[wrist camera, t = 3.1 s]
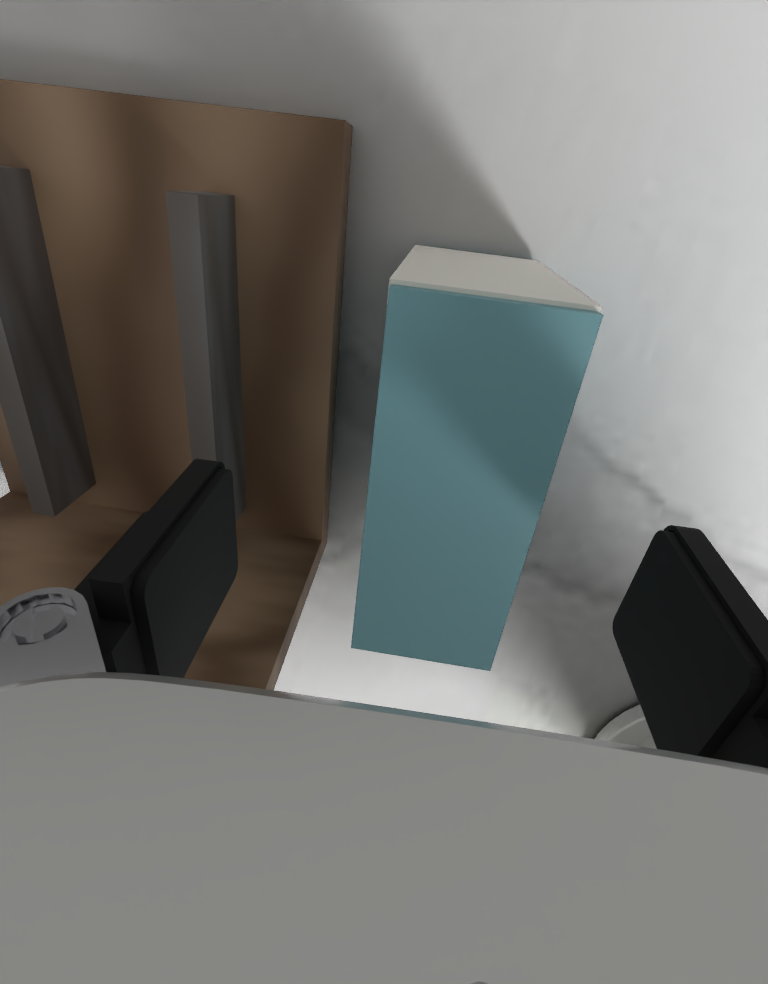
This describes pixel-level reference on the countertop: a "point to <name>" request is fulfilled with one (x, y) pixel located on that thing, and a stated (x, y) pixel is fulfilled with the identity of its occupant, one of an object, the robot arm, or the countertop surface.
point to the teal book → (464, 446)
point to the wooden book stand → (169, 340)
